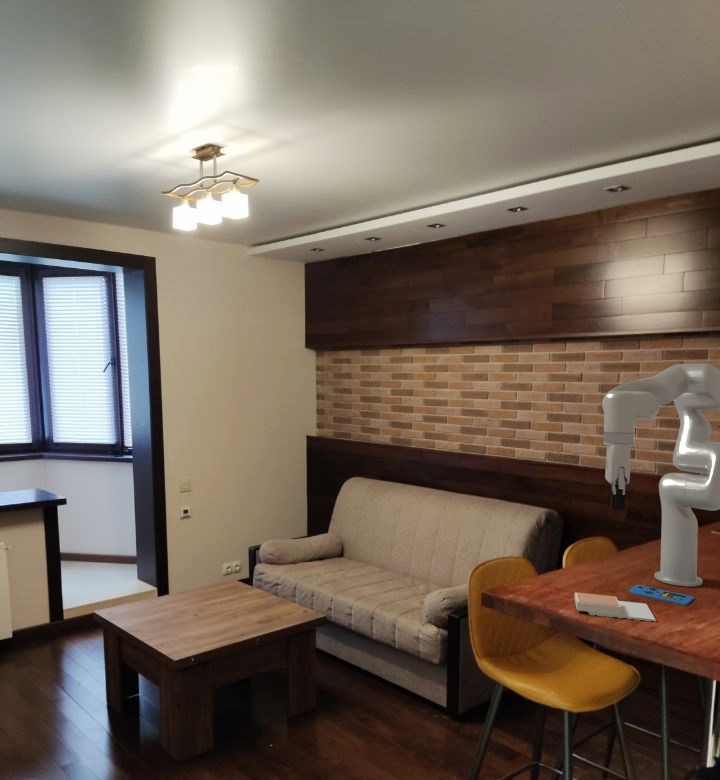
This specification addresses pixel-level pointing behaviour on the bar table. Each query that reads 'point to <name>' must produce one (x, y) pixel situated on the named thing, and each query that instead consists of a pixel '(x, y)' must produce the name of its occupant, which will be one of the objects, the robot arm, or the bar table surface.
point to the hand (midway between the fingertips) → (617, 509)
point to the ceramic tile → (597, 603)
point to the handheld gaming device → (661, 594)
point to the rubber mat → (631, 611)
